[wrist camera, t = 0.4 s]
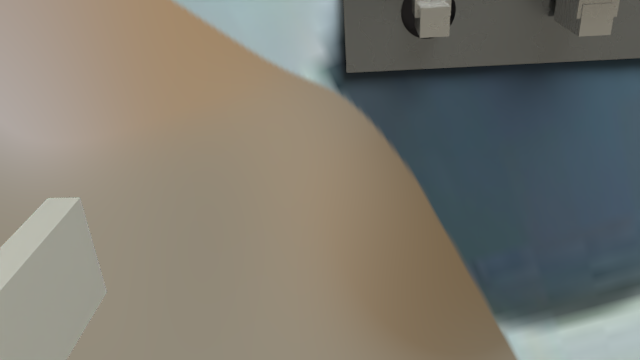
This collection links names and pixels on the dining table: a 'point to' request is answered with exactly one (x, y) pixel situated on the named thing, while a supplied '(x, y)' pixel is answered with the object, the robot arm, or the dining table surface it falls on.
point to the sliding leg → (586, 16)
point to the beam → (432, 17)
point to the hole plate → (479, 36)
